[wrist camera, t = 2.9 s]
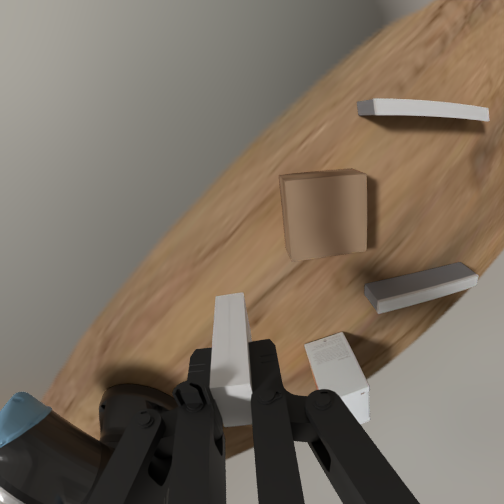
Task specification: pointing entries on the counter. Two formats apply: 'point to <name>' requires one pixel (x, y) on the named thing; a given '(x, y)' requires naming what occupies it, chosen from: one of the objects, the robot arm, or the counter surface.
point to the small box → (340, 373)
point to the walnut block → (324, 213)
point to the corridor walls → (433, 280)
